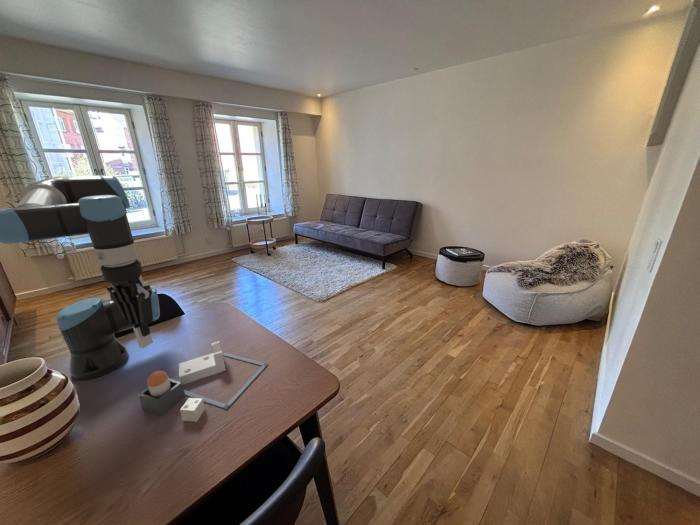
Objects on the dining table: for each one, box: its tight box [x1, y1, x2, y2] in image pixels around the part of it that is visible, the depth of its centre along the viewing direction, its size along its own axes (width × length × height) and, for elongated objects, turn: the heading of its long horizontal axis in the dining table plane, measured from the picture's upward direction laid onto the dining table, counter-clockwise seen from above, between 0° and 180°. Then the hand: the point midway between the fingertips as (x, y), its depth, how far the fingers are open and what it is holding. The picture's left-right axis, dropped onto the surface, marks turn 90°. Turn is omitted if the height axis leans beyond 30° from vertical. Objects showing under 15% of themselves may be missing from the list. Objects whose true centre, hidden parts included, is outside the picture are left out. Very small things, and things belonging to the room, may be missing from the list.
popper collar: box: [137, 377, 186, 417], centre depth 81 cm, size 8×8×5 cm
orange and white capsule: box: [146, 370, 171, 399], centre depth 79 cm, size 5×5×8 cm
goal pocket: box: [184, 352, 268, 411], centre depth 90 cm, size 18×19×1 cm
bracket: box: [178, 340, 226, 385], centre depth 93 cm, size 13×7×8 cm, turn 120°
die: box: [179, 397, 206, 422], centre depth 77 cm, size 4×4×4 cm
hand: (146, 344), depth 75 cm, fingers closed
